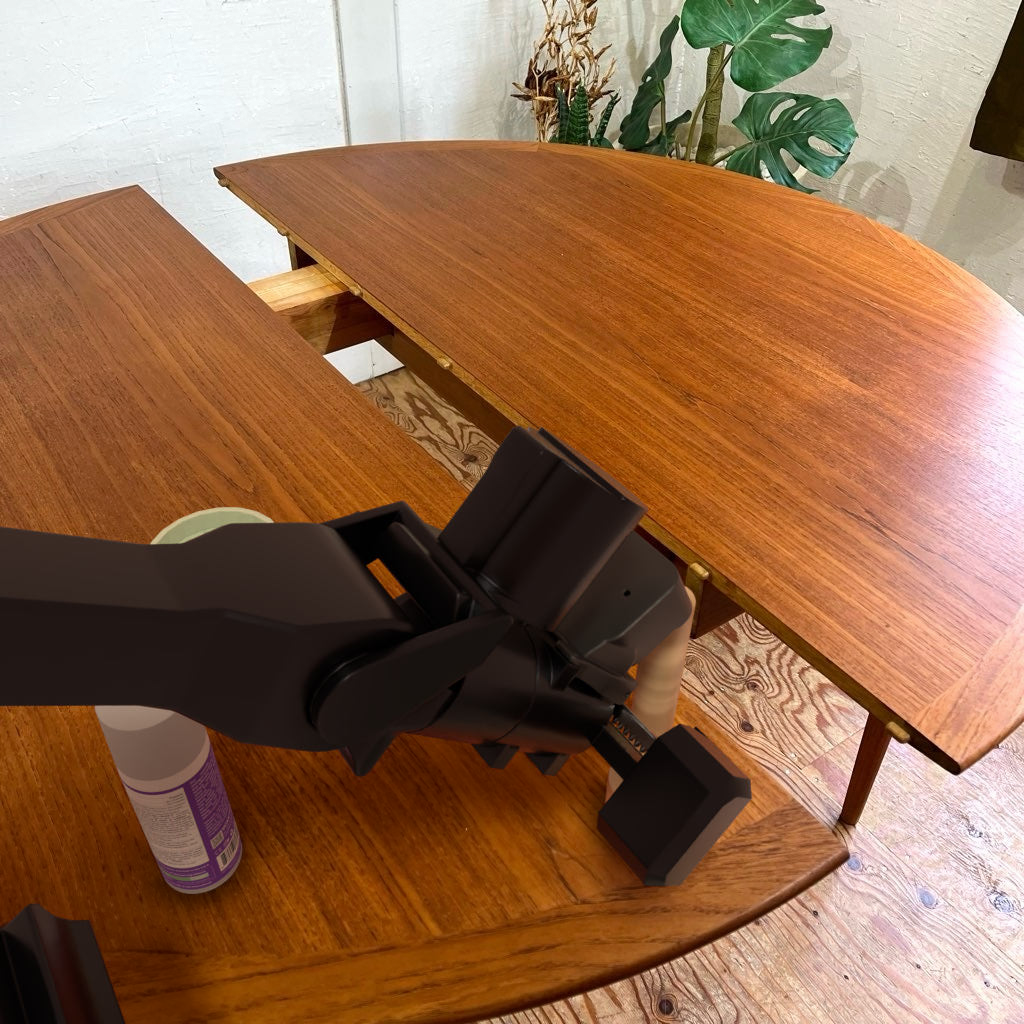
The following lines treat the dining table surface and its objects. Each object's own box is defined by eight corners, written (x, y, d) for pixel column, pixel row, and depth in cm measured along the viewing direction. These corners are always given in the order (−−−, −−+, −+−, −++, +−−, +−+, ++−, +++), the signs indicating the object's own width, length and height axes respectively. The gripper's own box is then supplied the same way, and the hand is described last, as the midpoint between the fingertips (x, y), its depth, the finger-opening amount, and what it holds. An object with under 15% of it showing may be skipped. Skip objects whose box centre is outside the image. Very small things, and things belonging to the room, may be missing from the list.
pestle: (662, 853, 57) (705, 636, 45) (597, 835, 58) (622, 617, 46) (674, 797, 60) (718, 579, 48) (611, 781, 61) (639, 562, 49)
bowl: (249, 648, 69) (240, 610, 67) (130, 618, 72) (116, 579, 69) (312, 559, 77) (305, 521, 74) (201, 534, 79) (191, 496, 76)
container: (216, 807, 59) (161, 643, 50) (258, 857, 57) (209, 694, 47) (146, 856, 57) (74, 693, 47) (187, 910, 54) (120, 750, 45)
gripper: (758, 668, 34) (882, 719, 46) (473, 421, 46) (631, 513, 58) (573, 900, 36) (739, 891, 48) (343, 604, 48) (523, 656, 59)
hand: (652, 718), depth 53 cm, fingers open, 9 cm apart
